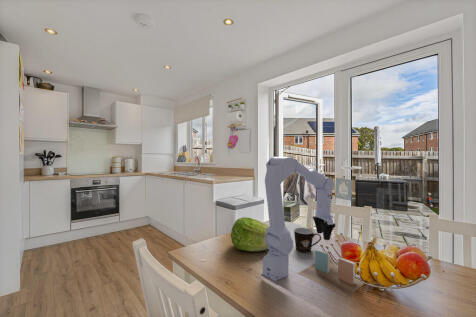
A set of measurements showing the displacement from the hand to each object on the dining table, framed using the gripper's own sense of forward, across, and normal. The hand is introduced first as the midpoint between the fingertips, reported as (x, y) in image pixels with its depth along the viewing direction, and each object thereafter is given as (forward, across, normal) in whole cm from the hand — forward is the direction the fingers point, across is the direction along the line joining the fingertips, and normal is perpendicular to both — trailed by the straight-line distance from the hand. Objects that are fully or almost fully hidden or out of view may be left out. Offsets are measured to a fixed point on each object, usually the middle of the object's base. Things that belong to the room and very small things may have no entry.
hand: (323, 236), depth 93 cm
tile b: (+9, -18, -1) cm, 20 cm away
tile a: (+9, -11, +4) cm, 15 cm away
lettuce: (+10, +11, +28) cm, 32 cm away
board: (+10, -14, +1) cm, 17 cm away
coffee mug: (+10, +7, +5) cm, 13 cm away
